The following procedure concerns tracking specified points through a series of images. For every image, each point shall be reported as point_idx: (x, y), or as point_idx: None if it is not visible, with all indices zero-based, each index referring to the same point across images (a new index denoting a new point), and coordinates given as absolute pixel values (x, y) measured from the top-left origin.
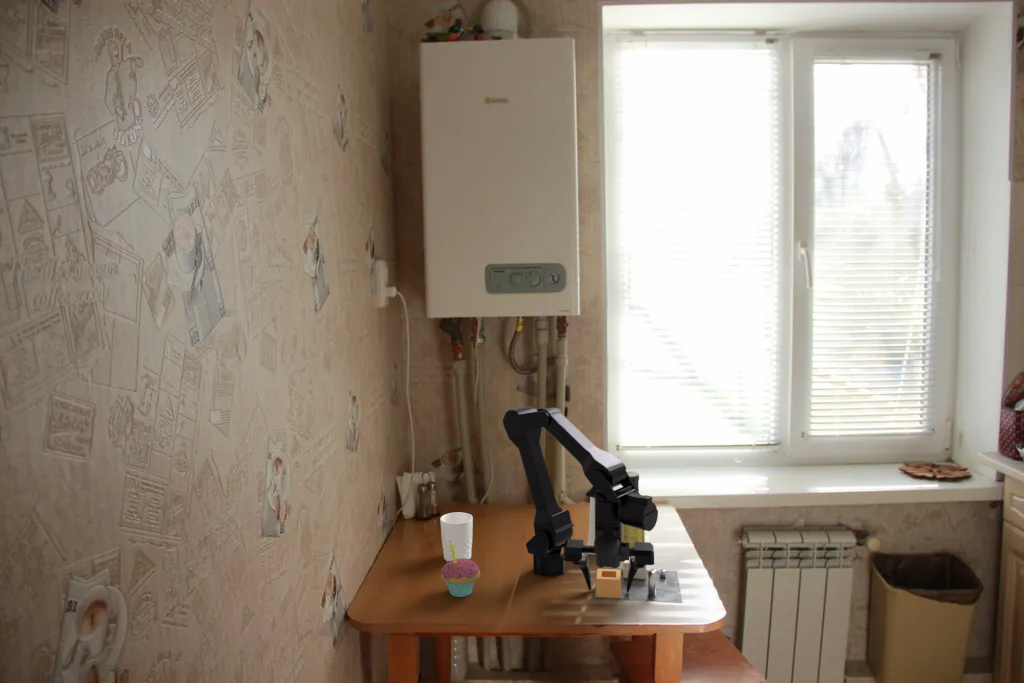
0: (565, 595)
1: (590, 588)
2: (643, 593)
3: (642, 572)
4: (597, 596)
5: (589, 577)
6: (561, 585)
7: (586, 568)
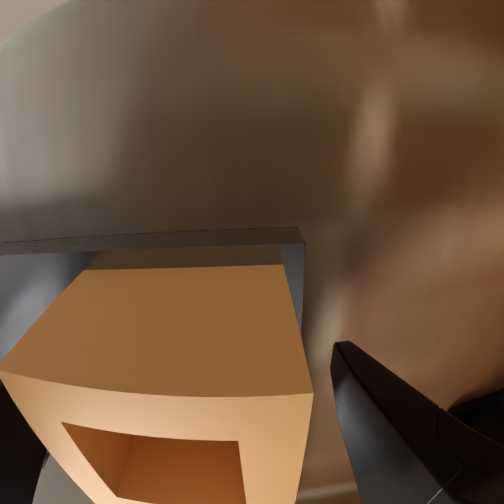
0: (463, 304)
1: (341, 348)
2: (1, 340)
3: (55, 476)
4: (275, 266)
5: (387, 416)
6: (452, 390)
7: (472, 491)
